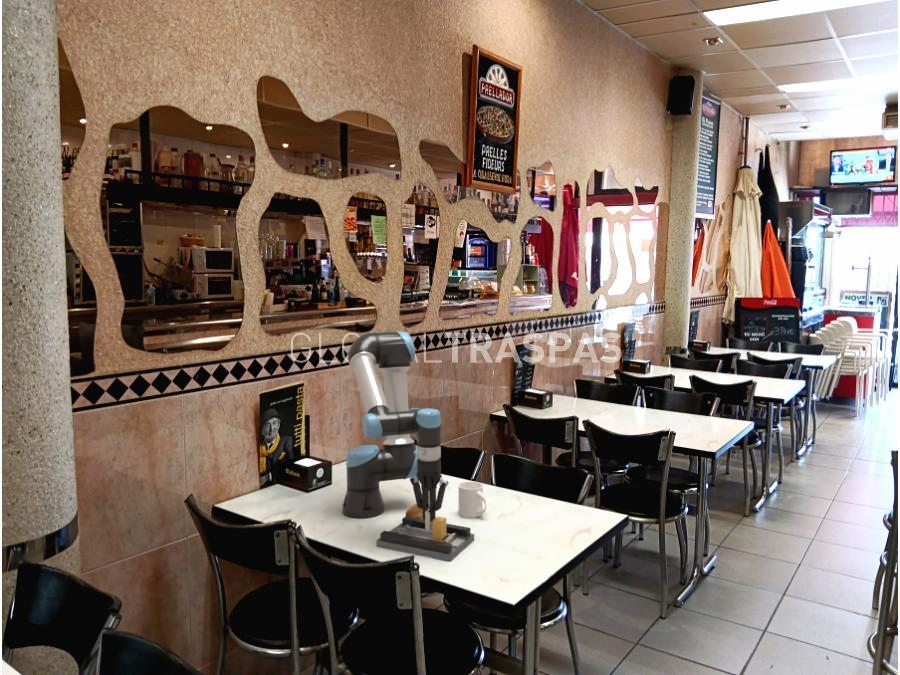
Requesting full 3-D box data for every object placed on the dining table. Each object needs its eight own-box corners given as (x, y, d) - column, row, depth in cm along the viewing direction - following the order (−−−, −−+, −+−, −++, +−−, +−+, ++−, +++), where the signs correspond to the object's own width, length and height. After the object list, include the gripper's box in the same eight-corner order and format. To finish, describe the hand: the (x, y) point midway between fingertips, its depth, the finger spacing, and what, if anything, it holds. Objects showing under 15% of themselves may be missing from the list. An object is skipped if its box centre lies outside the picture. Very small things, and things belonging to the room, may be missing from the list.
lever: (432, 541, 221) (432, 520, 220) (438, 536, 225) (438, 515, 224) (440, 542, 220) (440, 521, 219) (447, 537, 224) (446, 517, 223)
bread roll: (435, 530, 245) (439, 506, 248) (426, 527, 236) (430, 503, 239) (409, 526, 249) (413, 503, 251) (399, 523, 239) (403, 500, 242)
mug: (476, 523, 242) (476, 493, 241) (453, 514, 251) (453, 485, 249) (494, 517, 247) (494, 487, 246) (470, 508, 256) (471, 479, 255)
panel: (376, 546, 222) (376, 533, 222) (404, 526, 238) (404, 515, 238) (450, 561, 211) (450, 548, 211) (474, 539, 227) (474, 527, 227)
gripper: (405, 458, 221) (405, 531, 223) (441, 463, 215) (442, 537, 217) (416, 453, 227) (417, 523, 230) (452, 457, 222) (452, 529, 224)
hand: (429, 530), depth 223 cm, fingers closed
